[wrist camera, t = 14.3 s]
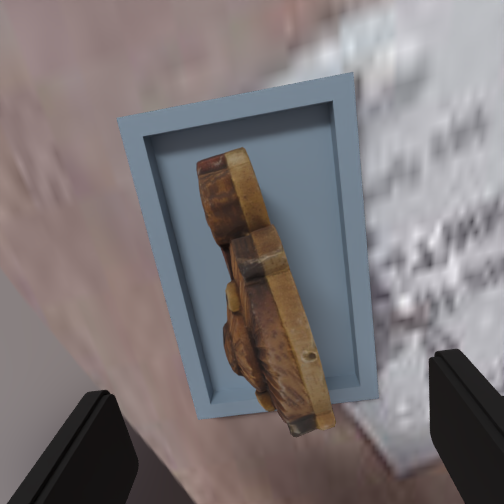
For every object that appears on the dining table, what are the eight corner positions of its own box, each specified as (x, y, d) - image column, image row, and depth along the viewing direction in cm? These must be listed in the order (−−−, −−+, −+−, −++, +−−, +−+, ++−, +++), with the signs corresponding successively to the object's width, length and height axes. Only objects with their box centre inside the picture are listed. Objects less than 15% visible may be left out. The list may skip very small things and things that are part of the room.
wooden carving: (182, 170, 22) (117, 191, 12) (249, 141, 21) (238, 139, 11) (276, 378, 26) (283, 515, 16) (334, 359, 25) (377, 490, 16)
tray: (344, 78, 20) (353, 71, 18) (370, 379, 26) (378, 398, 24) (129, 120, 21) (116, 118, 19) (202, 400, 27) (198, 419, 26)
